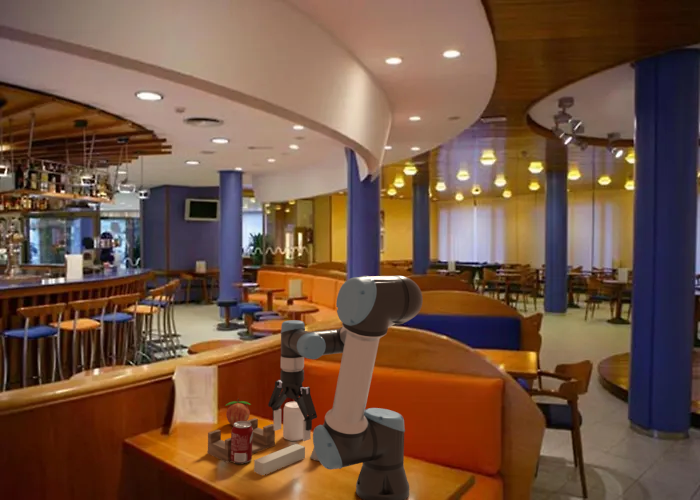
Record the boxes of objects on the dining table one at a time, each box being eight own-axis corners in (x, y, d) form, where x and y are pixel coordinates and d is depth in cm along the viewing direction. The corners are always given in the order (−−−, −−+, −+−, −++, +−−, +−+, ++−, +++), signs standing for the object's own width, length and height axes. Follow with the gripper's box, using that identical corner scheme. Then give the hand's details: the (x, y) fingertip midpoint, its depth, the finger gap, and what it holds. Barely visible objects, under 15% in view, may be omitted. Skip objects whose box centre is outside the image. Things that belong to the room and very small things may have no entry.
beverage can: (280, 435, 201) (280, 402, 200) (301, 432, 204) (301, 400, 204) (287, 443, 193) (287, 409, 193) (309, 439, 197) (309, 406, 197)
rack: (254, 437, 198) (254, 418, 198) (275, 445, 191) (275, 425, 191) (207, 453, 183) (207, 432, 183) (228, 462, 176) (228, 441, 176)
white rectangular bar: (296, 455, 184) (296, 443, 183) (304, 458, 181) (305, 446, 181) (254, 472, 170) (254, 460, 170) (262, 476, 167) (263, 463, 167)
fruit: (248, 428, 207) (248, 402, 207) (222, 428, 206) (223, 402, 206) (251, 421, 215) (252, 395, 215) (226, 421, 215) (227, 395, 215)
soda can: (247, 466, 174) (249, 429, 173) (226, 463, 175) (228, 426, 174) (254, 457, 180) (256, 421, 180) (234, 455, 181) (236, 419, 181)
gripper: (328, 373, 172) (327, 441, 173) (275, 361, 189) (274, 422, 189) (311, 378, 167) (311, 447, 167) (258, 364, 183) (257, 428, 183)
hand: (291, 434), depth 178 cm, fingers open, 13 cm apart
